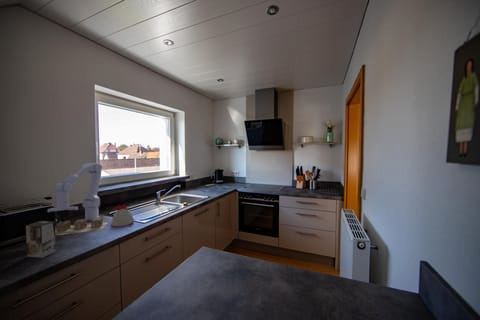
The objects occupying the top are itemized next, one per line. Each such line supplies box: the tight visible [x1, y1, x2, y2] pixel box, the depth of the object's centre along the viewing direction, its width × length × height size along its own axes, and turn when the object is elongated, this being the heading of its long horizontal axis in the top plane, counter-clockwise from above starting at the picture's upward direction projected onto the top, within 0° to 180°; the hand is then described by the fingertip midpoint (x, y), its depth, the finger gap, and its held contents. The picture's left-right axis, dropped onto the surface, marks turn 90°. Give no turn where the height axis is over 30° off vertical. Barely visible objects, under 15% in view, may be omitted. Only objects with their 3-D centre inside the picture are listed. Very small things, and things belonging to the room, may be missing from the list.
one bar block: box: [73, 218, 88, 230], centre depth 121 cm, size 5×5×5 cm
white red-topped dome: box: [110, 204, 135, 228], centre depth 131 cm, size 14×14×15 cm
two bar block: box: [90, 217, 104, 228], centre depth 125 cm, size 5×5×5 cm
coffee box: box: [25, 220, 57, 259], centre depth 92 cm, size 9×6×16 cm
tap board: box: [55, 221, 110, 236], centre depth 121 cm, size 16×28×1 cm, turn 113°
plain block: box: [55, 220, 71, 232], centre depth 118 cm, size 5×5×5 cm
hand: (63, 221), depth 118 cm, fingers closed
